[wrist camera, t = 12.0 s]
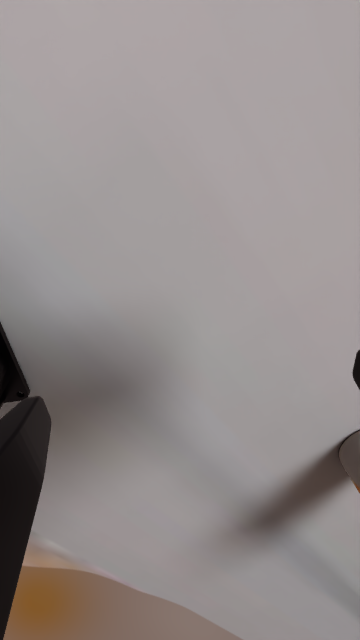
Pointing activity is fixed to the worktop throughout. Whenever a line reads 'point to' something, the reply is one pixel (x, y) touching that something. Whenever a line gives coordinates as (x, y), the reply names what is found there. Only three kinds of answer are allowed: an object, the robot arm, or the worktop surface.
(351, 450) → the lotion bottle
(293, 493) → the worktop surface
